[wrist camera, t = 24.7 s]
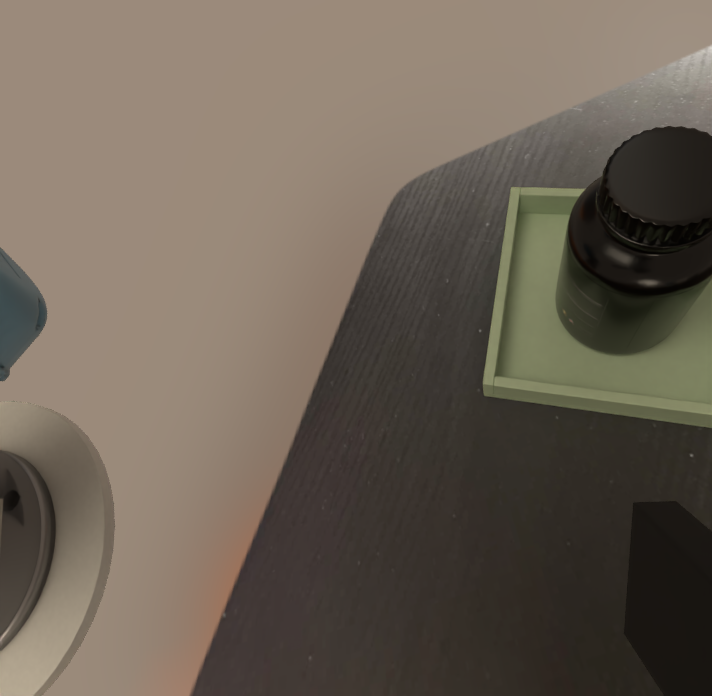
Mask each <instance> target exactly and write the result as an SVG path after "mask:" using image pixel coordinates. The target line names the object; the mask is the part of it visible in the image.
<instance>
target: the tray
mask: <svg viewBox="0 0 712 696" xmlns="http://www.w3.org/2000/svg"><path fill="white" fill-rule="evenodd" d="M584 190H585V189H572V188H532V187H521V188H520V187H511V191H510V198H509V205H508V211H507V218H506V225H505V232H504V239H503V246H502V253H501V260H500V267H499V274H498V280H497V287H496V294H495V301H494V308H493V315H492V322H491V329H490V336H489V343H488V349H487V356H486V363H485V370H484V377H483V394H484V396H488V397H495V398H502V399H509V400H516V401H523V402H531V403H538V404H545V405H552V406H559V407H566V408H573V409H580V410H587V411H594V412H601V413H608V414H616V415H623V416H630V417H637V418H644V419H651V420H658V421H665V422H672V423H679V424H686V425H693V426H701V427H708V428H712V280H711V281H710V282H709V284H708V285H707V286H706V288H705V289H704V290H703V292H702V293H701V295H700V296H699V297H698V299H697V300H696V301H695V303H694V304H693V305H692V307H691V308H690V309H689V311H688V312H687V313H686V315H685V316H684V318H683V319H682V320H681V322H680V323H679V324H678V326H677V327H676V328H675V329H674V331H673V332H672V333H671V334H670V335H669V336H668V337H667V338H666V339H664V340H663V341H662V342H660V343H659V344H657V345H656V346H654V347H652V348H650V349H647V350H644V351H641V352H637V353H632V354H608V353H603V352H600V351H596V350H594V349H591V348H589V347H587V346H585V345H583V344H582V343H580V342H579V341H577V340H576V339H575V338H574V337H572V336H571V335H570V334H569V333H568V331H567V330H566V329H565V328H564V326H563V324H562V323H561V321H560V319H559V316H558V314H557V310H556V303H555V295H556V287H557V280H558V275H559V269H560V263H561V258H562V252H563V246H564V241H565V235H566V229H567V224H568V220H569V217H570V213H571V211H572V208H573V206H574V204H575V202H576V201H577V199H578V198H579V196H580V195H581V194H582V192H583V191H584Z"/></svg>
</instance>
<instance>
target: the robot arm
mask: <svg viewBox="0 0 712 696" xmlns="http://www.w3.org/2000/svg"><path fill="white" fill-rule="evenodd" d="M46 319H47V308H46V304H45V301H44V298H43V296H42V294H41V293H40V291H39V290H38V288H37V287H36V285H35V284H34V283H33V281H32V280H31V279H30V278H29V277H28V276H27V274H25V272H24V271H23V270H22V269H21V268H20V267H19V266H18V265H17V264H16V263H15V262H14V261H13V260H12V259H11V258H10V257H9V256H8V255H7V254H6V253H5V252H4V251H3V250H2V249H1V248H0V381H5V380H6V379H7V377H8V376H9V373H10V367H12V365H13V364H14V363H15V362H16V361H17V360H18V358H19V357H20V356H21V355H22V354H23V353H24V351H25V350H26V349H27V348H28V347H29V346H30V345H31V344H32V342H33V341H34V340H35V339H36V338H37V337H38V336H39V334H40V333H41V331H42V330H43V328H44V326H45V323H46ZM55 535H56V523H55V512H54V506H53V502H52V498H51V495H50V492H49V489H48V487H47V485H46V483H45V481H44V479H43V478H42V476H41V475H40V473H39V472H38V471H37V470H36V468H35V467H34V466H33V465H32V464H30V463H29V462H28V461H27V460H25V459H24V458H22V457H20V456H18V455H16V454H14V453H11V452H7V451H2V450H0V651H1V650H2V649H3V648H5V647H6V646H7V644H8V643H9V642H10V641H11V640H12V639H13V638H14V637H15V636H16V634H17V633H18V632H19V631H20V629H21V628H22V627H23V625H24V624H25V622H26V621H27V619H28V618H29V616H30V614H31V613H32V611H33V609H34V608H35V606H36V604H37V602H38V600H39V598H40V596H41V593H42V591H43V588H44V586H45V583H46V580H47V577H48V574H49V571H50V567H51V563H52V559H53V553H54V547H55ZM624 634H625V636H626V637H627V639H628V641H629V642H630V644H631V645H632V647H633V648H634V650H635V651H636V653H637V654H638V656H639V657H640V659H641V660H642V662H643V664H644V665H645V667H646V668H647V670H648V671H649V673H650V674H651V676H652V677H653V679H654V680H655V682H656V684H657V685H658V687H659V688H660V690H661V691H662V693H663V694H664V696H712V532H711V531H710V530H709V529H708V528H707V527H706V526H704V525H703V524H702V523H701V522H700V521H699V520H697V519H696V518H695V517H694V516H693V515H692V514H690V513H689V512H688V511H687V510H686V509H685V508H683V507H682V506H681V505H680V504H679V503H678V502H676V501H668V502H637V503H633V515H632V529H631V543H630V557H629V571H628V584H627V598H626V612H625V626H624Z"/></svg>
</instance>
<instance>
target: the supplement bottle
mask: <svg viewBox="0 0 712 696" xmlns="http://www.w3.org/2000/svg"><path fill="white" fill-rule="evenodd" d="M711 280H712V136H710V135H709V134H708V133H707V132H701V131H698V130H697V129H695V128H685V127H682V126H681V127H672V126H667V127H664V128H658V127H656V128H654V129H652V130H646V131H643V132H641V133H640V134H637V135H634V136H632V137H631V138H630V139H629V140H627V141H624V142H623V143H622V145H621V146H620V147H618V148H617V149H615V151H614V153H613V155H612V156H611V157H610V158H609V159H608V161H607V165H606V167H605V168H604V171H603V175H602V176H601V177H600V178H598V179H597V180H595V181H594V182H593V183H592V184H590V185H589V186H588V187H587V188H586V189H585V190H584V191H583V192H582V194H581V195H580V196H579V198H578V199H577V201H576V202H575V204H574V206H573V208H572V211H571V213H570V217H569V220H568V224H567V229H566V235H565V241H564V246H563V252H562V258H561V263H560V269H559V275H558V280H557V287H556V295H555V303H556V310H557V314H558V316H559V319H560V321H561V323H562V324H563V326H564V328H565V329H566V330H567V331H568V333H569V334H570V335H571V336H572V337H574V338H575V339H576V340H577V341H579V342H580V343H582V344H583V345H585V346H587V347H589V348H591V349H594V350H596V351H600V352H603V353H608V354H632V353H637V352H641V351H644V350H647V349H650V348H652V347H654V346H656V345H657V344H659V343H660V342H662V341H663V340H664V339H666V338H667V337H668V336H669V335H670V334H671V333H672V332H673V331H674V329H675V328H676V327H677V326H678V324H679V323H680V322H681V320H682V319H683V318H684V316H685V315H686V313H687V312H688V311H689V309H690V308H691V307H692V305H693V304H694V303H695V301H696V300H697V299H698V297H699V296H700V295H701V293H702V292H703V290H704V289H705V288H706V286H707V285H708V284H709V282H710V281H711Z"/></svg>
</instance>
